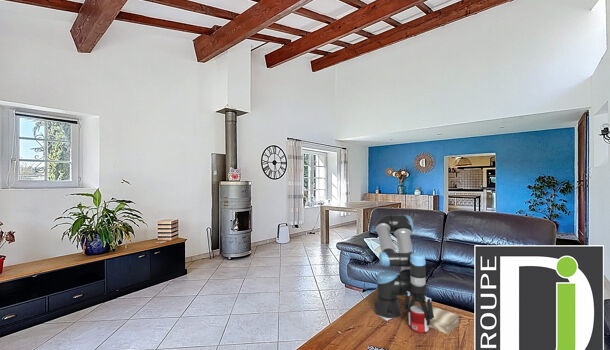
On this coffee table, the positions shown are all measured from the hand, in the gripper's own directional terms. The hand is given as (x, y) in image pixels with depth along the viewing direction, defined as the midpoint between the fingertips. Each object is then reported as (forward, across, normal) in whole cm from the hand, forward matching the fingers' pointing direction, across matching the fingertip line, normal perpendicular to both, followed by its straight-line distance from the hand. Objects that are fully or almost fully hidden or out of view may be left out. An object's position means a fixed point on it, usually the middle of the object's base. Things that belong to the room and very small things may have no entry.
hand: (418, 327), depth 149 cm
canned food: (+1, 0, 0) cm, 1 cm away
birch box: (+1, +5, +14) cm, 15 cm away
